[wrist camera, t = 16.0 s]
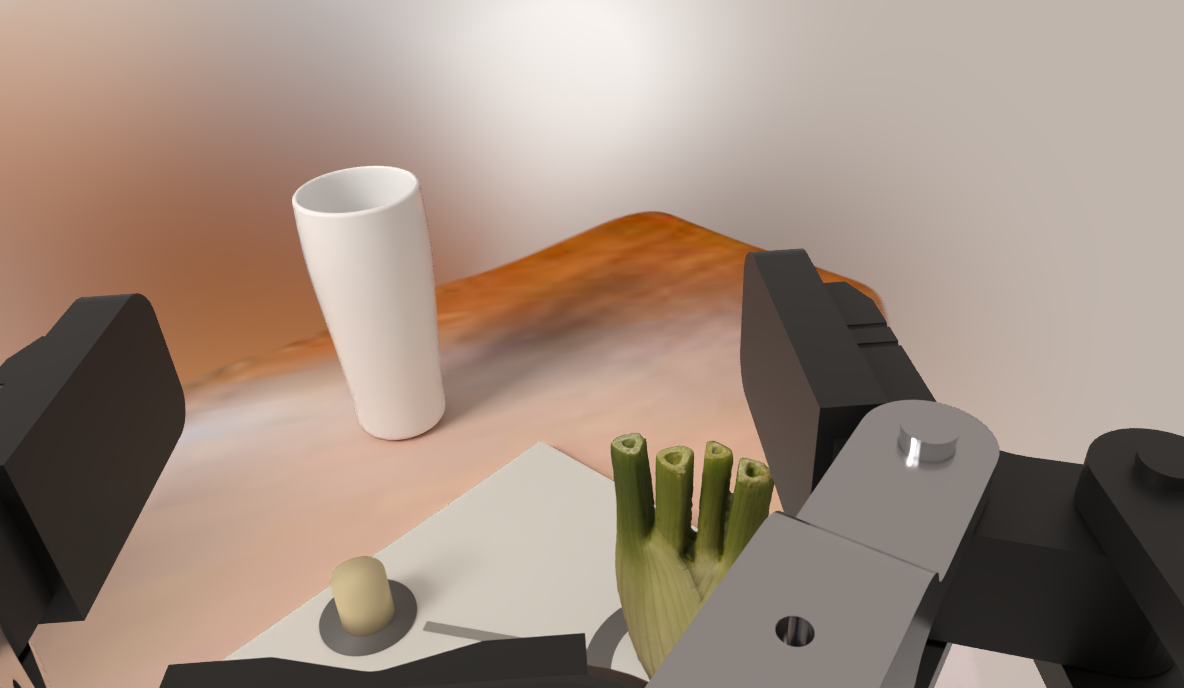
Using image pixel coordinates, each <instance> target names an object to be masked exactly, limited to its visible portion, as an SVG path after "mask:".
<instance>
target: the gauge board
mask: <svg viewBox="0 0 1184 688" xmlns="http://www.w3.org/2000/svg"><path fill="white" fill-rule="evenodd" d="M655 506H656V505H655V504H654V507H655ZM616 510H617V505H616V492H615V482H614V481H612V480H610V479H608V478H607V477H605V476H603V475H601V474H599V473H598V472H596V471H594V470H592V469H591V468H589V467H587V466H585V465H583V464H582V463H580V462H578V461H576V460H574V459H573V458H571V457H569V456H567V455H565V454H564V453H562V452H560V451H558V450H556V449H555V448H553V447H551V446H549V445H548V444H546V443H544V442H542V441H539V442H538V443H536V444H535V445H533V446H532V447H530V448H529V449H528V450H526V451H525V452H523V453H522V454H520V455H519V456H517V457H516V458H515V459H513V460H512V461H510V462H509V463H507V464H506V465H504V466H503V467H501V468H500V469H499V470H497V471H496V472H494V473H493V474H491V475H490V476H488V477H487V478H485V479H484V480H483V481H481V482H480V483H478V484H477V485H475V486H474V487H472V488H471V489H470V490H468V491H467V492H465V493H464V494H462V495H461V496H459V497H458V498H456V499H455V500H454V501H452V502H451V503H449V504H448V505H446V506H445V507H443V508H442V509H441V510H439V511H438V512H436V513H435V514H433V515H432V516H430V517H429V518H427V519H426V520H425V521H423V522H422V523H420V524H419V525H417V526H416V527H414V528H413V529H412V530H410V531H409V532H407V533H406V534H404V535H403V536H401V537H400V538H398V539H397V540H396V541H394V542H393V543H391V544H390V545H388V546H387V547H385V548H384V549H383V550H381V551H380V552H378V553H377V554H375V555H374V556H372V557H368V556H361V557H355V558H352V559H349V560H347V561H345V562H344V563H342V564H341V565H339V566H338V567H337V568H336V569H335V570H334V572H333V573H332V575H331V578H330V586H329V587H327V588H326V589H324V590H323V591H322V592H320V593H319V594H317V595H316V596H314V597H313V598H311V599H310V600H309V601H307V602H306V603H304V604H303V605H301V606H300V607H298V608H297V609H295V610H294V611H293V612H291V613H290V614H288V615H287V616H285V617H284V618H282V619H281V620H280V621H278V622H277V623H275V624H274V625H272V626H271V627H269V628H268V629H266V630H265V631H264V632H262V633H261V634H259V635H258V636H256V637H255V638H253V639H252V640H251V641H249V642H248V643H246V644H245V645H243V646H242V647H240V648H239V649H237V650H236V651H235V652H233V653H232V654H230V655H229V656H227V657H226V658H224V659H223V660H221V661H226V660H239V659H252V658H265V657H275V658H281V659H288V660H294V661H301V662H307V663H314V664H320V665H327V666H333V667H340V668H346V669H353V670H359V671H369V672H370V671H380V670H384V669H388V668H391V667H395V666H398V665H402V664H405V663H409V662H412V661H415V660H419V659H422V658H426V657H429V656H433V655H436V654H439V653H443V652H446V651H450V650H453V649H457V648H460V647H464V646H467V645H470V644H474V643H477V642H481V641H486V640H499V639H512V638H525V637H538V636H551V635H564V634H577V633H585V638H586V650H587V663H588V665H593V666H599V667H605V668H610V669H613V670H617V671H620V672H624V673H628V674H631V675H634V676H636V677H639V678H641V679H643V680H646V681H648V682H649V681H650V680H649V678H648V676H647V674H646V672H645V670H644V669H643V666H642V664H641V662H639V660H638V658H637V654H636V651H635V649H634V647H633V644H632V641H631V639H630V637H629V633H628V627H627V624H626V623H625V618H624V614H623V610H622V606H621V602H620V597H619V593H618V590H617V580H616V569H615V550H616V534H617V530H616V528H617V525H616V524H617V517H616V516H617V513H616ZM691 528H692V529H693V530H694V531H696V532H697V531H698V528H696V527H694V526H693V525H691Z"/></svg>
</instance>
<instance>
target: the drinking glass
mask: <svg viewBox="0 0 1184 688" xmlns="http://www.w3.org/2000/svg"><path fill="white" fill-rule="evenodd" d="M292 204H293V208H294V213H295V218H296V224H297V229H298V234H299V238H300V243H301V247H302V251H303V255H304V259H305V262H306V266H307V269H308V272H309V275H310V279H311V282H312V285H313V288H314V290H315V293H316V296H317V299H318V302H319V305H320V307H321V310H322V313H323V316H324V319H325V321H326V324H327V327H328V330H329V333H330V335H331V338H332V341H333V344H334V347H335V349H336V352H337V355H338V358H339V361H340V364H341V367H342V369H343V372H344V375H345V378H346V381H347V384H348V387H349V390H350V393H351V396H352V399H353V403H354V407H355V411H356V415H357V419H358V422H359V424H360V425H361V427H362V428H363V429H364V430H365V431H366V432H367V433H368V434H370V435H372V436H374V437H377V438H380V439H386V440H401V439H408V438H412V437H415V436H418V435H420V434H422V433H424V432H426V431H428V430H430V429H431V428H432V427H434V426H435V425H436V424H437V423H438V422H439V421H440V419H441V418H442V416H443V414H444V411H445V407H446V400H445V394H444V388H443V382H442V373H441V361H440V348H439V335H438V321H437V307H436V293H435V278H434V265H433V254H432V245H431V238H430V232H429V225H428V220H427V215H426V210H425V205H424V200H423V196H422V192H421V187H420V182H419V180H418V178H417V177H416V176H415V175H414V174H413V173H411V172H409V171H407V170H404V169H401V168H396V167H389V166H363V167H355V168H348V169H343V170H338V171H335V172H331V173H328V174H325V175H322V176H319V177H317V178H315V179H312V180H311V181H309V182H307V183H305V184H304V185H303V186H301V187H300V188H299V189H298V190H297V191H296V192H295V194H294V195H293V198H292Z"/></svg>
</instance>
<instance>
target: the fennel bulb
mask: <svg viewBox="0 0 1184 688" xmlns="http://www.w3.org/2000/svg"><path fill="white" fill-rule="evenodd" d="M646 444H647V443H646V439H644V438H643V437H642V436H641V435H640V434H639V433H638V434H637V433H631V434H628V435H622V436H619V437H617V438H616V439H615V440H613V442H612V443H611V458H612V465H613V470H614V482H615V492H616V505H617V510H616V513H617V516H616V517H617V524H616V525H617V528H616V530H617V534H616V550H615V569H616V580H617V590H618V593H619V597H620V602H621V606H622V610H623V614H624V618H625V623H626V624H627V627H628V633H629V637H630V639H631V641H632V644H633V647H634V649H635V651H636V654H637V658H638V660H639V662H641V664H642V666H643V669H644V670H645V672H646V674H647V676H648V678H649V680H651V678H652V677H653V675H654V674H655V673H656V671H657V670H658V668H659V667H660V666H661V664H662V663H663V661H664V660H665V659H666V657H667V656H668V654H669V653H670V652H671V650H672V649H673V647H674V646H675V645H676V643H677V642H678V640H679V639H680V638H681V636H682V635H683V633H684V632H685V631H686V629H687V628H688V626H689V625H690V624H691V622H692V621H693V619H694V618H695V617H696V615H697V614H698V612H699V611H700V610H701V608H702V607H703V605H704V604H705V603H706V601H707V600H708V599H709V597H710V596H711V594H712V593H713V592H714V590H715V589H716V587H717V586H718V585H719V583H720V582H721V580H722V579H723V578H724V576H725V575H726V573H727V572H728V571H729V569H730V568H731V566H732V565H733V564H734V562H735V561H736V559H737V558H738V557H739V555H740V554H741V552H742V551H743V550H744V548H745V547H746V545H747V544H748V543H749V541H750V540H751V538H752V537H753V536H754V534H755V533H756V531H757V530H758V529H759V527H760V526H761V525H762V523H763V522H764V521H765V519H766V518H767V517H768V515H769V506H770V502H771V497H772V492H773V488H774V480H773V477H772V474H771V471H770V469H769V468H768V467H766V465H765V464H764V463H761V462H759V461H755V460H751V459H747V458H741V459H740V461H739V466H738V471H737V478H736V485H735V489H734V493H731V492H730V491H729V488H730V478H731V470H732V465H733V455H732V450H730V449H729V448H727V447H725V446H724V445H722V444H720V443H718V442H715V441H709V442H707V444H706V451H705V458H704V468H703V474H702V487H701V496H700V501H699V510H700V512H699V518H698V531H697V532H696V531H694V530H693V529H692V528H691V520H692V510H691V508H692V505H693V504H692V496H693V472H694V471H693V469H694V452H693V451H692V450H691V449H690V448H688V447H685V446H676V447H671V448H666V449H664V450H662V451H659V452H658V453H657V456H656V506H655V507H654V498H653V488H652V479H651V473H650V467H649V459H648V454H647V445H646Z"/></svg>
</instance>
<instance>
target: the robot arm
mask: <svg viewBox="0 0 1184 688" xmlns="http://www.w3.org/2000/svg"><path fill="white" fill-rule="evenodd" d="M740 362H741V375H742V382H743V388H744V392H745V396H746V399H747V402H748V405H749V408H750V411H751V414H752V417H753V420H754V423H755V426H756V429H757V432H758V435H759V438H760V441H761V444H762V447H763V450H764V453H765V456H766V459H767V462H768V465H769V468H770V471H771V474H772V477H773V480H774V483H775V486H776V489H777V492H778V495H779V498H780V501H781V504H782V507H783V510H784V513H783V512H781V511H775V512H773V513H772V514H770V515H769V516H768V517H767V518H766V519H765V521H764V522H763V523H762V525H761V526H760V527H759V529H758V530H757V531H756V533H755V534H754V536H753V537H752V538H751V540H750V541H749V543H748V544H747V545H746V547H745V548H744V550H743V551H742V552H741V554H740V555H739V557H738V558H737V559H736V561H735V562H734V564H733V565H732V566H731V568H730V569H729V571H728V572H727V573H726V575H725V576H724V578H723V579H722V580H721V582H720V583H719V585H718V586H717V587H716V589H715V590H714V592H713V593H712V594H711V596H710V597H709V599H708V600H707V601H706V603H705V604H704V605H703V607H702V608H701V610H700V611H699V612H698V614H697V615H696V617H695V618H694V619H693V621H692V622H691V624H690V625H689V626H688V628H687V629H686V631H685V632H684V633H683V635H682V636H681V638H680V639H679V640H678V642H677V643H676V645H675V646H674V647H673V649H672V650H671V652H670V653H669V654H668V656H667V657H666V659H665V660H664V661H663V663H662V664H661V666H660V667H659V668H658V670H657V671H656V673H655V674H654V675H653V677H652V678H651V680H650V681H649V682H648V681H646V680H643V679H641V678H639V677H636V676H634V675H631V674H628V673H624V672H620V671H617V670H613V669H610V668H605V667H599V666H593V665H588V663H587V650H586V638H585V633H577V634H564V635H551V636H538V637H525V638H512V639H499V640H486V641H481V642H477V643H474V644H470V645H467V646H464V647H460V648H457V649H453V650H450V651H446V652H443V653H439V654H436V655H433V656H429V657H426V658H422V659H419V660H415V661H412V662H409V663H405V664H402V665H398V666H395V667H391V668H388V669H384V670H380V671H370V672H369V671H359V670H353V669H346V668H340V667H333V666H327V665H320V664H314V663H307V662H301V661H294V660H288V659H281V658H275V657H265V658H252V659H239V660H226V661H213V662H200V663H187V664H174V665H168V668H167V670H166V673H165V675H164V678H163V680H162V683H161V685H160V688H934V686H935V684H936V682H937V679H938V677H939V675H940V672H941V670H942V667H943V665H944V663H945V660H946V658H947V656H948V653H949V651H950V648H951V646H952V643H953V644H958V645H963V646H968V647H974V648H979V649H984V650H989V651H995V652H999V653H1005V654H1010V655H1015V656H1020V657H1025V658H1030V659H1033V660H1034V662H1035V664H1036V666H1037V668H1038V671H1039V672H1040V675H1041V677H1042V679H1043V681H1044V683H1045V685H1046V687H1047V688H1184V437H1183V436H1179V435H1176V434H1173V433H1169V432H1164V431H1159V430H1151V429H1142V428H1129V429H1119V430H1115V431H1111V432H1108V433H1105V434H1103V435H1101V436H1099V437H1098V438H1097V439H1095V440H1094V441H1093V442H1092V444H1091V445H1090V446H1089V449H1088V452H1087V455H1086V458H1085V461H1084V464H1083V465H1082V464H1076V463H1069V462H1061V461H1054V460H1046V459H1040V458H1032V457H1026V456H1021V455H1015V454H1011V453H1007V452H1004V451H1000V450H999V445H998V443H997V440H996V438H995V436H994V435H993V433H992V432H991V431H990V430H989V429H988V427H987V426H986V425H984V424H983V423H982V422H981V421H979V420H978V419H977V418H975V417H973V416H972V415H970V414H968V413H966V412H964V411H962V410H960V409H958V408H955V407H952V406H949V405H946V404H941V403H937V402H936V400H935V399H934V397H933V396H932V394H931V392H930V391H929V389H928V388H927V386H926V384H925V383H924V381H923V380H922V378H921V376H920V375H919V373H918V372H917V370H916V369H915V367H914V365H913V364H912V362H911V360H910V359H909V357H908V356H907V354H906V352H905V351H904V349H903V348H902V346H901V345H900V346H899V345H898V340H897V338H896V336H895V335H894V333H893V332H892V330H891V328H890V327H887V322H886V320H885V319H884V317H883V316H882V314H881V313H880V311H879V309H878V308H877V306H876V305H875V303H874V301H873V300H872V299H870V298H869V297H867V296H866V295H864V294H863V293H861V292H860V291H858V290H857V289H855V288H854V287H852V286H851V285H849V284H848V283H846V282H832V283H823V282H822V280H821V278H820V276H819V274H818V273H817V271H816V269H815V267H814V265H813V263H812V262H811V260H810V258H809V256H808V254H807V253H806V251H805V250H804V249H789V250H775V251H760V252H749V253H748V254H747V256H746V259H745V265H744V281H743V302H742V324H741V346H740ZM184 423H185V399H184V394H183V390H182V386H181V384H180V381H179V378H178V375H177V373H176V370H175V367H174V365H173V361H172V359H171V356H170V353H169V350H168V348H167V345H166V342H165V339H164V336H163V334H162V331H161V328H160V326H159V323H158V320H157V317H156V314H155V312H154V310H153V307H152V305H151V303H150V302H149V300H148V299H147V298H146V297H145V296H143V295H141V294H138V293H136V294H124V295H123V294H122V295H109V296H94V297H82V298H79V299H77V300H76V301H75V302H74V303H73V304H72V305H71V306H70V307H69V309H68V310H67V311H66V312H65V313H64V315H63V316H62V317H61V318H60V319H59V320H58V322H57V323H56V324H55V325H54V326H53V328H52V329H51V330H50V331H49V332H48V334H47V335H46V336H42V337H40V338H39V339H37V340H36V341H34V342H33V343H31V344H30V345H28V346H27V347H25V348H23V349H22V350H20V351H19V352H18V353H16V354H15V355H13V356H11V357H10V358H8V359H7V360H6V361H5V362H4V363H3V364H2V365H1V366H0V688H52V687H51V684H50V682H49V679H48V677H47V674H46V672H45V669H44V667H43V665H42V662H41V660H40V657H39V656H38V654H37V652H36V650H35V649H34V647H33V645H32V643H31V642H30V640H29V639H30V637H31V636H32V634H33V632H34V630H35V629H36V627H37V625H38V624H45V623H59V622H72V621H84V620H85V618H86V616H87V614H88V613H89V611H90V609H91V607H92V605H93V603H94V601H95V599H96V597H97V595H98V593H99V591H100V590H101V588H102V586H103V584H104V582H105V580H106V578H107V576H108V574H109V572H110V570H111V568H112V567H113V565H114V563H115V561H116V559H117V557H118V555H119V553H120V551H121V549H122V547H123V545H124V544H125V542H126V540H127V538H128V536H129V534H130V532H131V530H132V528H133V526H134V524H135V522H136V521H137V519H138V517H139V515H140V513H141V511H142V509H143V507H144V505H145V503H146V501H147V499H148V498H149V496H150V494H151V492H152V490H153V488H154V486H155V484H156V482H157V480H158V478H159V476H160V475H161V473H162V471H163V469H164V467H165V465H166V463H167V461H168V459H169V457H170V455H171V453H172V452H173V450H174V448H175V446H176V444H177V442H178V440H179V438H180V436H181V434H182V431H183V428H184Z"/></svg>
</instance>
